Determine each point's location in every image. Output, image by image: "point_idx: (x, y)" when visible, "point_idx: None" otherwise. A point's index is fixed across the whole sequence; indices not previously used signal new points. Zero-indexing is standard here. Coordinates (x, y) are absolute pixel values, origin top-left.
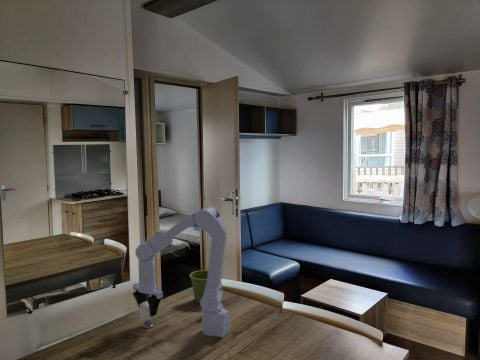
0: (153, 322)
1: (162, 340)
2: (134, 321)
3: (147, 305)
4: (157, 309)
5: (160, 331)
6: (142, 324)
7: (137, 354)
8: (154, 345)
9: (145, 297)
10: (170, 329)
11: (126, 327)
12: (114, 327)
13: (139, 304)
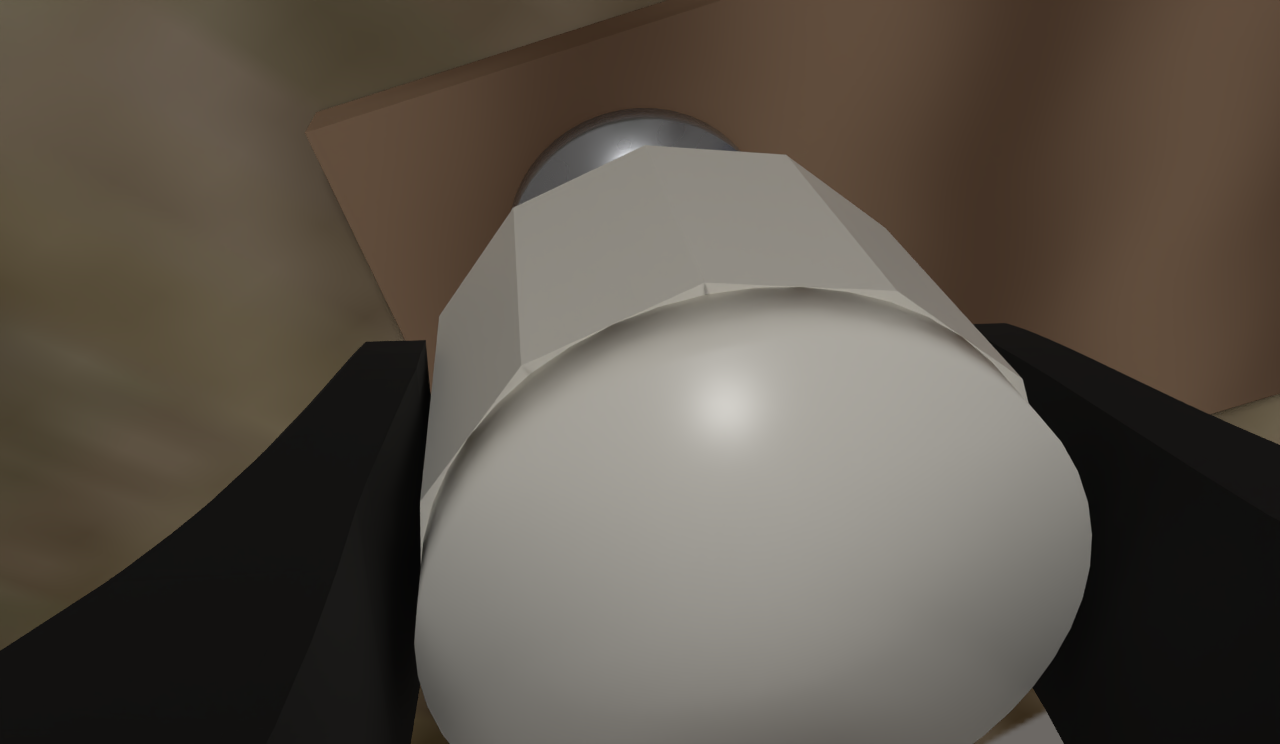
0: (592, 43)
1: (1262, 397)
2: (42, 196)
3: (838, 676)
4: (1145, 392)
5: (1048, 229)
6: (467, 274)
7: None
8: None
9: (340, 674)
10: (1201, 26)
11: (228, 446)
12: (64, 572)
13: (412, 730)
